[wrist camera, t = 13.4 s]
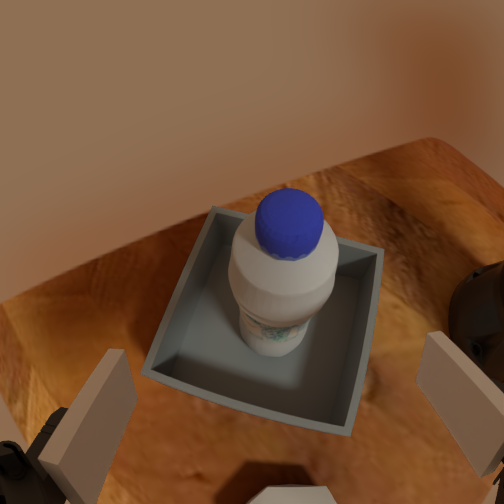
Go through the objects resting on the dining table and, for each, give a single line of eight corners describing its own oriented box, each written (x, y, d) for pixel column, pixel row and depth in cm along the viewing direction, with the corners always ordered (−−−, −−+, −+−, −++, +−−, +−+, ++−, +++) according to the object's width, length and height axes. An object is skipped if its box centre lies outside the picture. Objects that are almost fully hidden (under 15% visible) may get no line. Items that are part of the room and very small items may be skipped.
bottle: (231, 308, 33) (206, 170, 16) (293, 292, 34) (329, 148, 17) (248, 370, 30) (238, 291, 13) (313, 352, 31) (386, 252, 13)
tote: (364, 280, 36) (384, 249, 30) (330, 433, 27) (350, 436, 21) (219, 242, 38) (212, 205, 32) (162, 384, 30) (140, 373, 24)
